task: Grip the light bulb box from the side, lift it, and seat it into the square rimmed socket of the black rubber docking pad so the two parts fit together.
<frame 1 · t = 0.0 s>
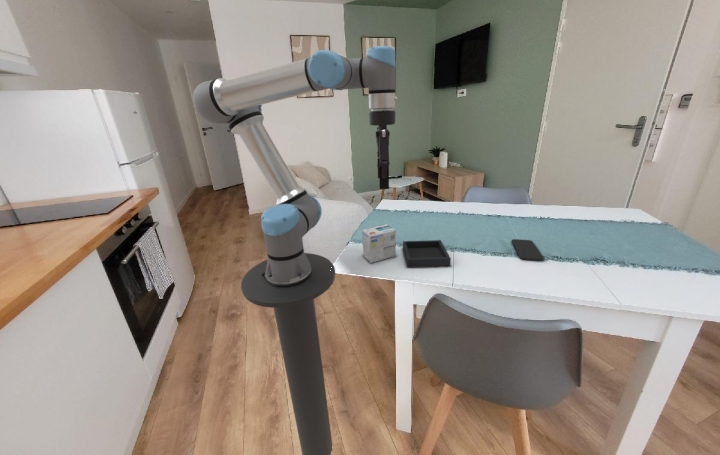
hand: (383, 183, 91), 29 cm above the table, tool pointing down, fingers open, 13 cm apart
light bulb box: (379, 256, 107), on the table
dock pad: (424, 256, 105), on the table
phone: (526, 250, 106), on the table
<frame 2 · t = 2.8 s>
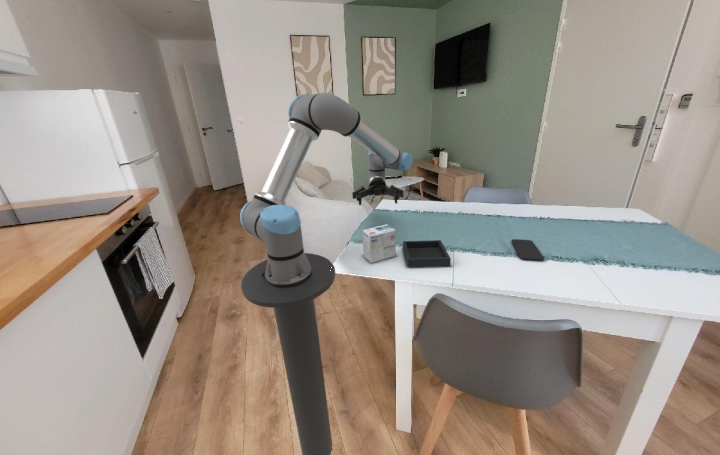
hand: (377, 200, 108), 19 cm above the table, tool horizontal, fingers open, 13 cm apart
nothing on the table moved.
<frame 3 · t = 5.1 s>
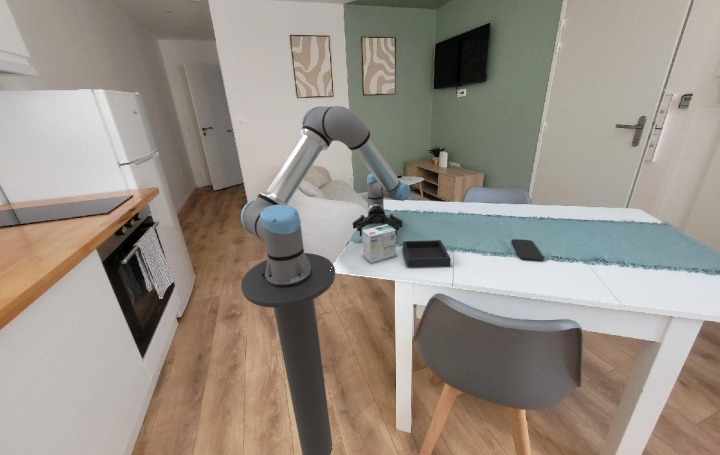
hand: (378, 232, 111), 7 cm above the table, tool horizontal, fingers open, 13 cm apart
nothing on the table moved.
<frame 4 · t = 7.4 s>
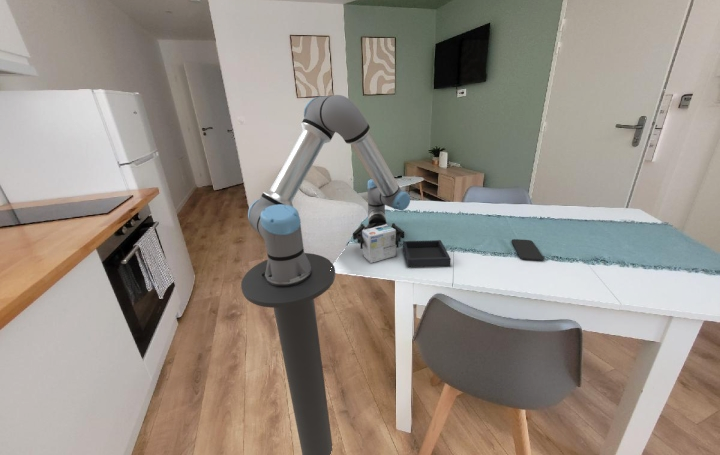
hand: (379, 244, 101), 6 cm above the table, tool horizontal, fingers closed on light bulb box, 12 cm apart
light bulb box: (379, 256, 107), on the table, touching gripper
everything else where it was.
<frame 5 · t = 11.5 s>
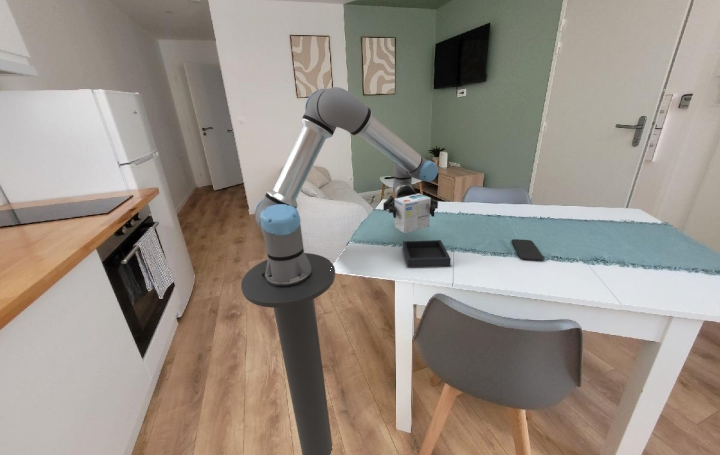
hand: (414, 213, 96), 18 cm above the table, tool horizontal, fingers closed on light bulb box, 12 cm apart
light bulb box: (411, 227, 102), point 11 cm above the table, touching gripper
everything else where it was.
when the fingers open (7 cm above the table, at t = 15.8 s): light bulb box stays where it is, resting on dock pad.
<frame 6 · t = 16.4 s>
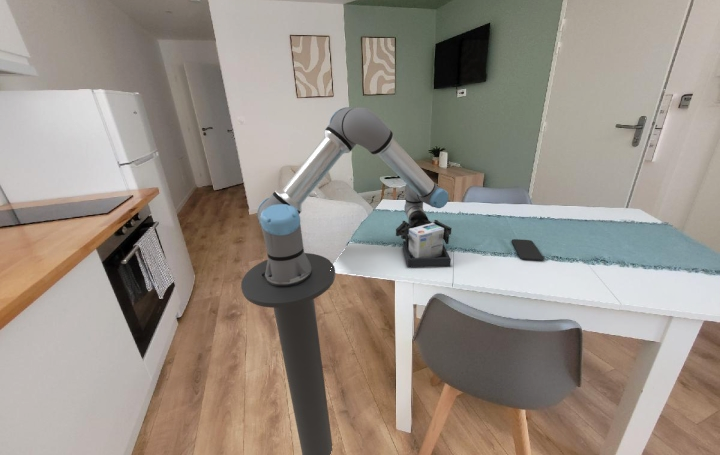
hand: (427, 241, 99), 8 cm above the table, tool horizontal, fingers open, 13 cm apart
light bulb box: (425, 255, 105), resting on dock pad
everything else where it was.
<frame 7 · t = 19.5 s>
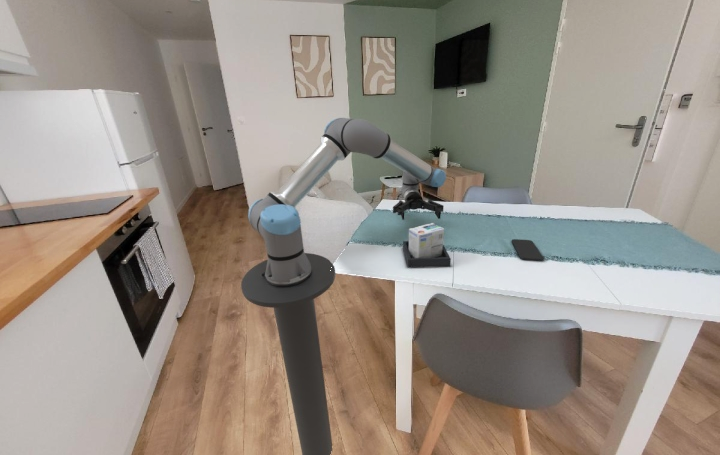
hand: (421, 216, 110), 12 cm above the table, tool horizontal, fingers open, 13 cm apart
nothing on the table moved.
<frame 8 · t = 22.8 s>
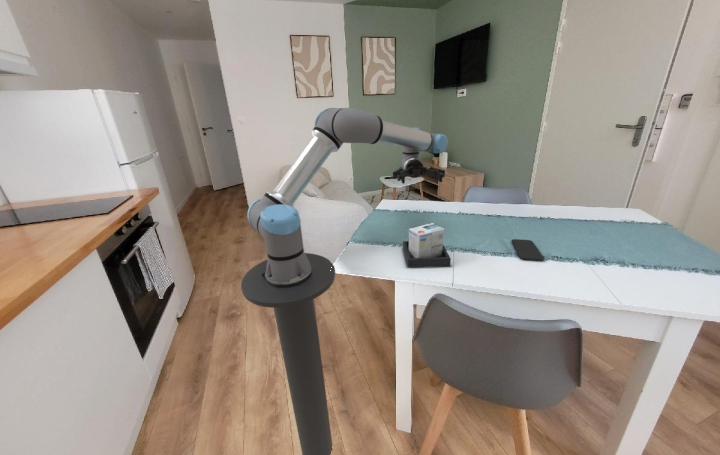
hand: (422, 179, 106), 26 cm above the table, tool horizontal, fingers open, 13 cm apart
nothing on the table moved.
at the end: light bulb box 0.0 cm off-centre on the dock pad, point 0.4 cm above the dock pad's base; light bulb box tilted 0°; the gripper is holding nothing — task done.
